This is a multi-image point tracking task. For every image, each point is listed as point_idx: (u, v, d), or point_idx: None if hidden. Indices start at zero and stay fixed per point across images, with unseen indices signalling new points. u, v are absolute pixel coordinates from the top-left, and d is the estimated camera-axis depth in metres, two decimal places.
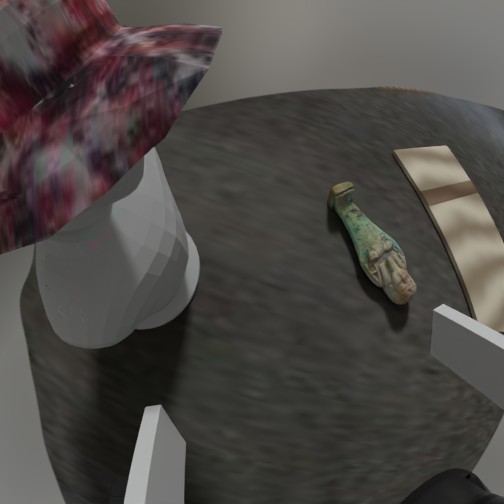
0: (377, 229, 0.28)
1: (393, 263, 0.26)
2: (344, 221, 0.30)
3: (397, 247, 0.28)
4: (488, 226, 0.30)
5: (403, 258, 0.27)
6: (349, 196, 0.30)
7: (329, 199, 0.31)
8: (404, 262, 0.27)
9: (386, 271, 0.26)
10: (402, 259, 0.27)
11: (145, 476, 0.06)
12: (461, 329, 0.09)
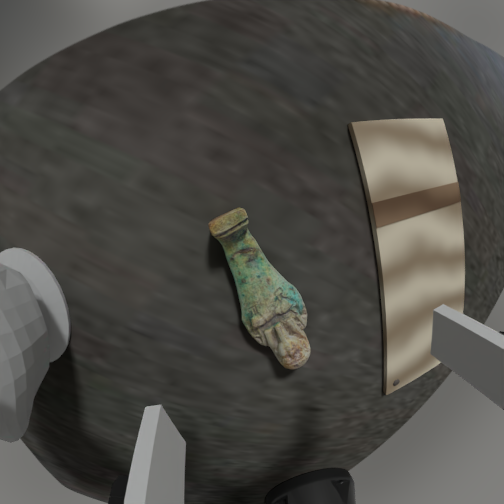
0: (273, 283, 0.22)
1: (282, 335, 0.22)
2: (228, 263, 0.22)
3: (298, 305, 0.23)
4: (454, 254, 0.26)
5: (303, 319, 0.23)
6: (239, 232, 0.21)
7: None
8: (303, 324, 0.23)
9: (272, 339, 0.23)
10: (300, 321, 0.23)
11: (145, 476, 0.06)
12: (461, 329, 0.09)
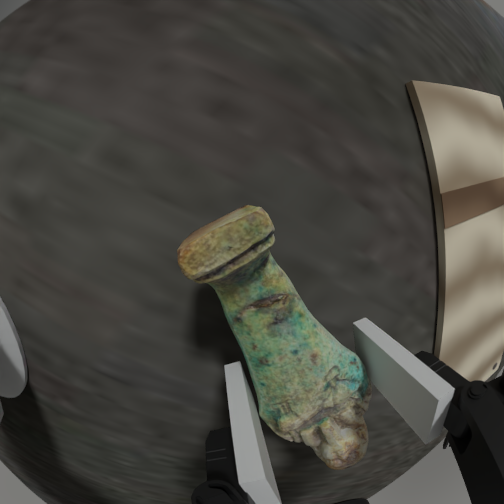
0: (323, 360, 0.10)
1: (332, 438, 0.10)
2: (230, 325, 0.10)
3: (362, 386, 0.11)
4: None
5: (365, 404, 0.11)
6: (252, 264, 0.09)
7: None
8: (364, 409, 0.11)
9: (312, 440, 0.11)
10: (362, 407, 0.11)
11: (248, 419, 0.08)
12: (374, 345, 0.10)
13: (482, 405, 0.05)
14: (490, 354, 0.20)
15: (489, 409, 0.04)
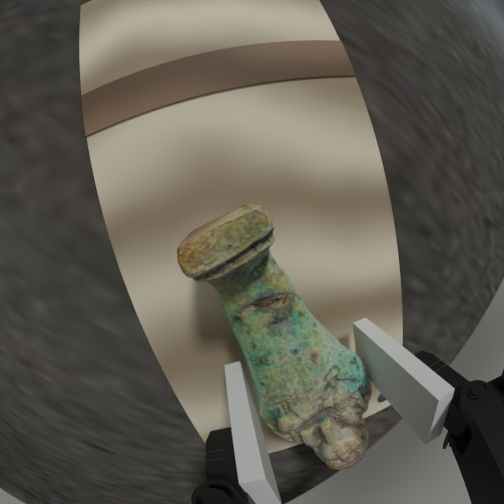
0: (323, 359, 0.10)
1: (332, 438, 0.10)
2: (229, 324, 0.10)
3: (362, 385, 0.11)
4: (351, 190, 0.13)
5: (365, 404, 0.11)
6: (252, 263, 0.09)
7: None
8: (364, 409, 0.11)
9: (312, 440, 0.11)
10: (362, 407, 0.11)
11: (248, 419, 0.08)
12: (374, 345, 0.10)
13: (482, 405, 0.05)
14: None
15: (489, 409, 0.04)
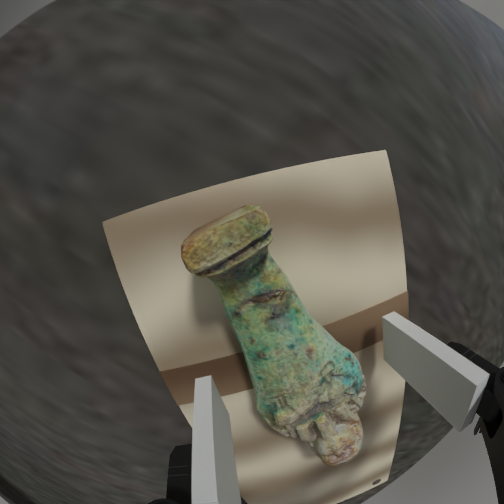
0: (319, 355, 0.10)
1: (327, 433, 0.10)
2: (229, 319, 0.11)
3: (356, 382, 0.11)
4: (377, 408, 0.15)
5: (360, 401, 0.11)
6: (251, 260, 0.09)
7: None
8: (359, 405, 0.12)
9: (308, 435, 0.11)
10: (357, 403, 0.11)
11: (209, 439, 0.07)
12: (406, 338, 0.10)
13: None
14: (356, 479, 0.17)
15: None
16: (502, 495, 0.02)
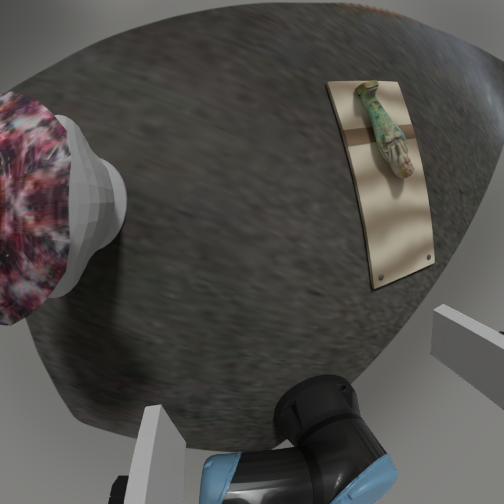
0: (391, 120, 0.32)
1: (401, 148, 0.32)
2: (368, 108, 0.32)
3: (403, 137, 0.33)
4: (414, 175, 0.37)
5: (407, 146, 0.33)
6: (374, 91, 0.31)
7: (358, 88, 0.32)
8: (407, 149, 0.34)
9: (395, 153, 0.33)
10: (406, 146, 0.33)
11: (145, 476, 0.06)
12: (461, 329, 0.09)
13: None
14: (418, 241, 0.39)
15: None
16: None
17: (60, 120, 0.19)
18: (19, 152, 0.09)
